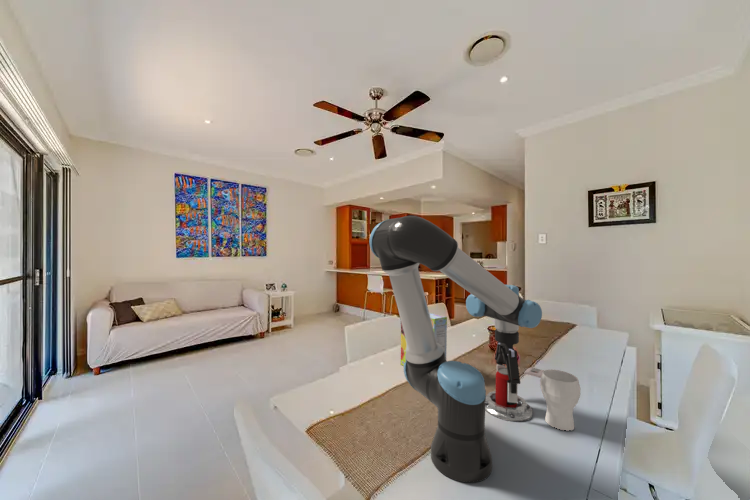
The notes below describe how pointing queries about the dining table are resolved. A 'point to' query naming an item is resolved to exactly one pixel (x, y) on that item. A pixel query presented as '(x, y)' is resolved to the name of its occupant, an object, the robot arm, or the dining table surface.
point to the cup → (560, 397)
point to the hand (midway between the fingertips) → (506, 391)
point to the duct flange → (508, 409)
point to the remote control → (534, 372)
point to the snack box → (439, 331)
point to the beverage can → (503, 388)
